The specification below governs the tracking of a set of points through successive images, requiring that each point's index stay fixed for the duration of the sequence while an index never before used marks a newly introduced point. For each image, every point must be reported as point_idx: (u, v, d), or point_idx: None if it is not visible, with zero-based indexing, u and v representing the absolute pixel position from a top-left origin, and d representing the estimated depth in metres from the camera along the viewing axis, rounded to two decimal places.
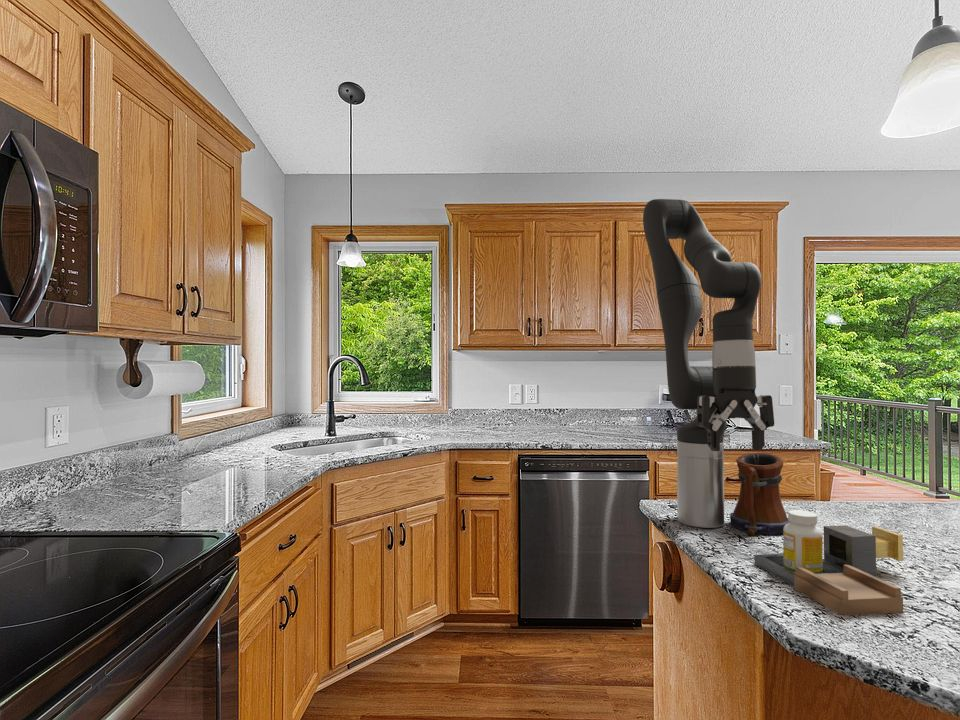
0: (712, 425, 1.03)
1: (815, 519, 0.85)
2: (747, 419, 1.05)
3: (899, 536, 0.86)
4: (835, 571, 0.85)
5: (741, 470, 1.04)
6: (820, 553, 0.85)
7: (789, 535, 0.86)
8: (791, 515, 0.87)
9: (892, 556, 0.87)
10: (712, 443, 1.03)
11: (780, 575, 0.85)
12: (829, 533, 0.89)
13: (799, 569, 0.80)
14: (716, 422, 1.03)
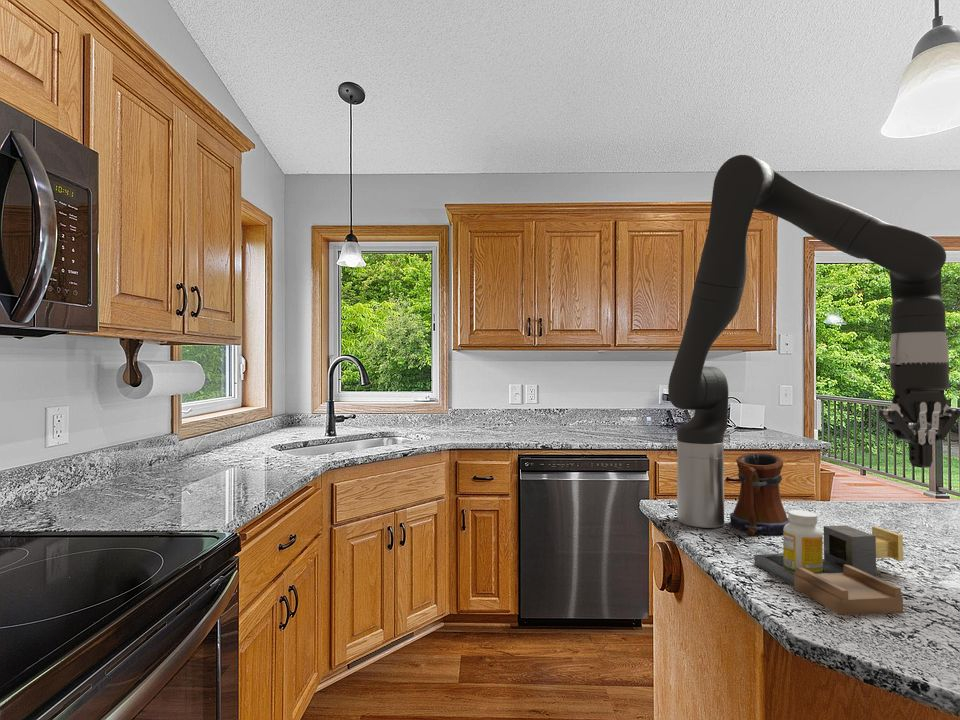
0: (918, 438, 0.89)
1: (815, 519, 0.85)
2: None
3: (899, 536, 0.86)
4: (835, 571, 0.85)
5: (741, 470, 1.04)
6: (820, 553, 0.85)
7: (789, 535, 0.86)
8: (791, 515, 0.87)
9: (892, 556, 0.87)
10: (917, 458, 0.89)
11: (780, 575, 0.85)
12: (829, 533, 0.89)
13: (799, 569, 0.80)
14: (919, 435, 0.88)
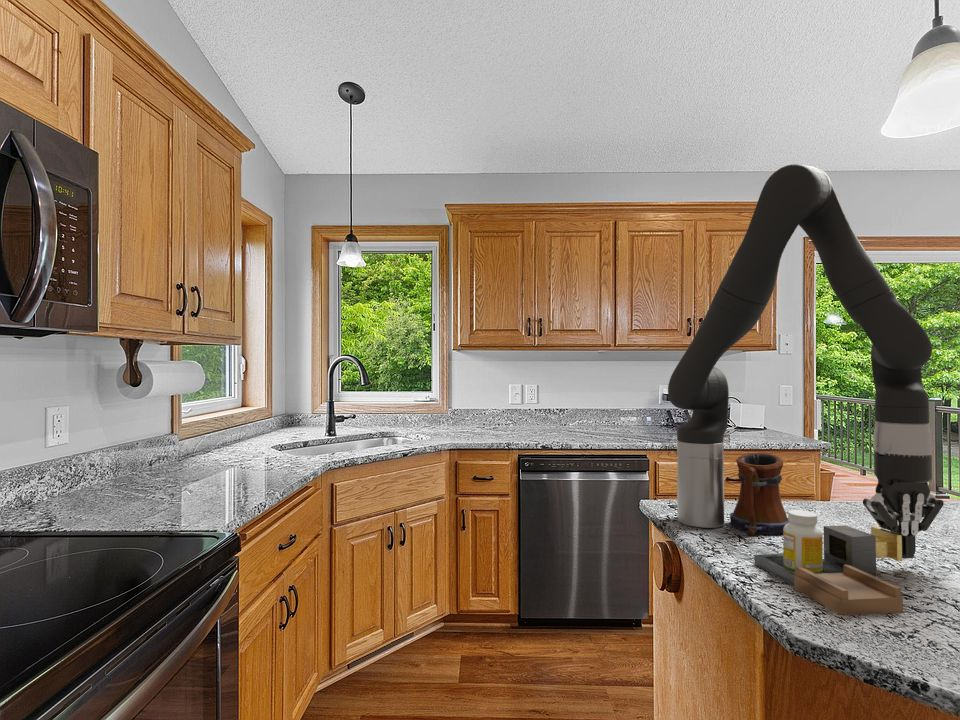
0: (901, 529, 0.88)
1: (815, 519, 0.85)
2: None
3: (898, 536, 0.86)
4: (835, 571, 0.85)
5: (741, 470, 1.04)
6: (820, 553, 0.85)
7: (789, 535, 0.86)
8: (791, 515, 0.87)
9: (891, 556, 0.87)
10: None
11: (780, 575, 0.85)
12: (829, 533, 0.89)
13: (799, 569, 0.80)
14: (902, 526, 0.88)
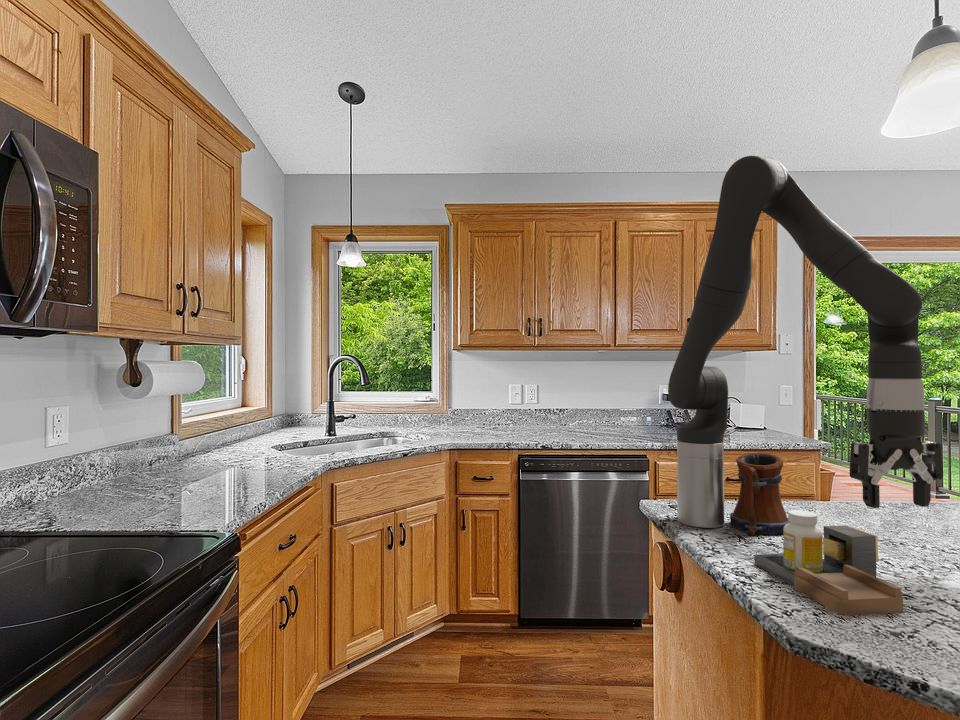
0: (871, 478, 0.88)
1: (815, 519, 0.85)
2: (908, 469, 0.90)
3: None
4: (835, 571, 0.85)
5: (741, 470, 1.04)
6: (820, 553, 0.85)
7: (789, 535, 0.86)
8: (791, 515, 0.87)
9: None
10: (870, 499, 0.88)
11: (780, 575, 0.85)
12: (829, 533, 0.89)
13: (799, 569, 0.80)
14: (876, 474, 0.88)
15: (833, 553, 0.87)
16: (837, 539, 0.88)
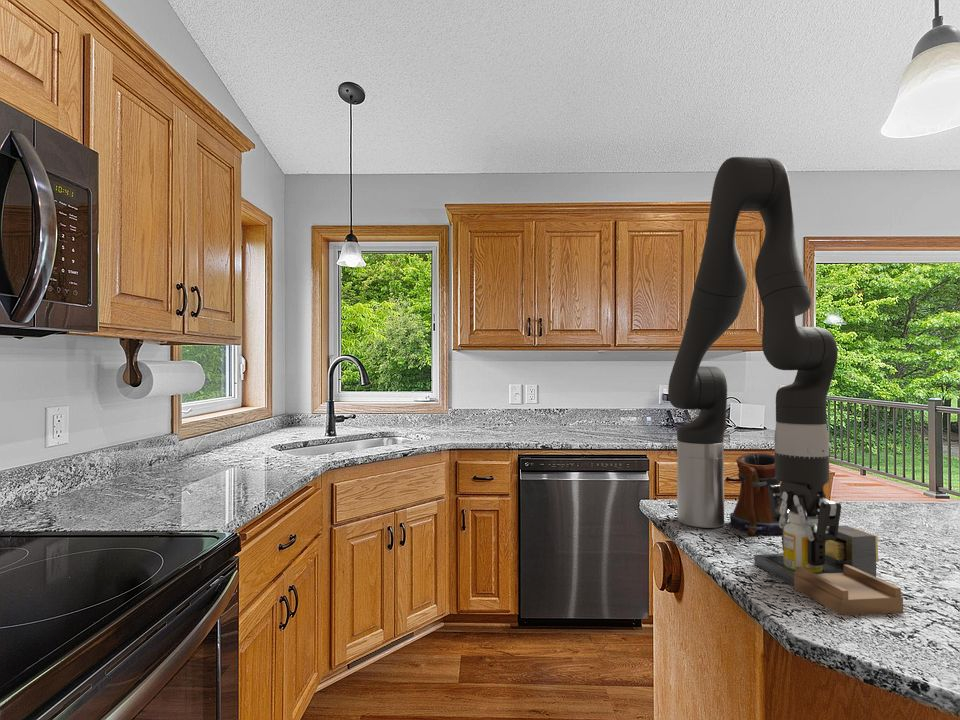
0: None
1: None
2: None
3: None
4: (835, 571, 0.85)
5: (741, 470, 1.04)
6: None
7: (789, 535, 0.86)
8: (791, 515, 0.87)
9: None
10: (782, 541, 0.91)
11: (780, 575, 0.85)
12: None
13: (799, 569, 0.80)
14: (781, 518, 0.90)
15: (833, 553, 0.87)
16: (837, 539, 0.88)
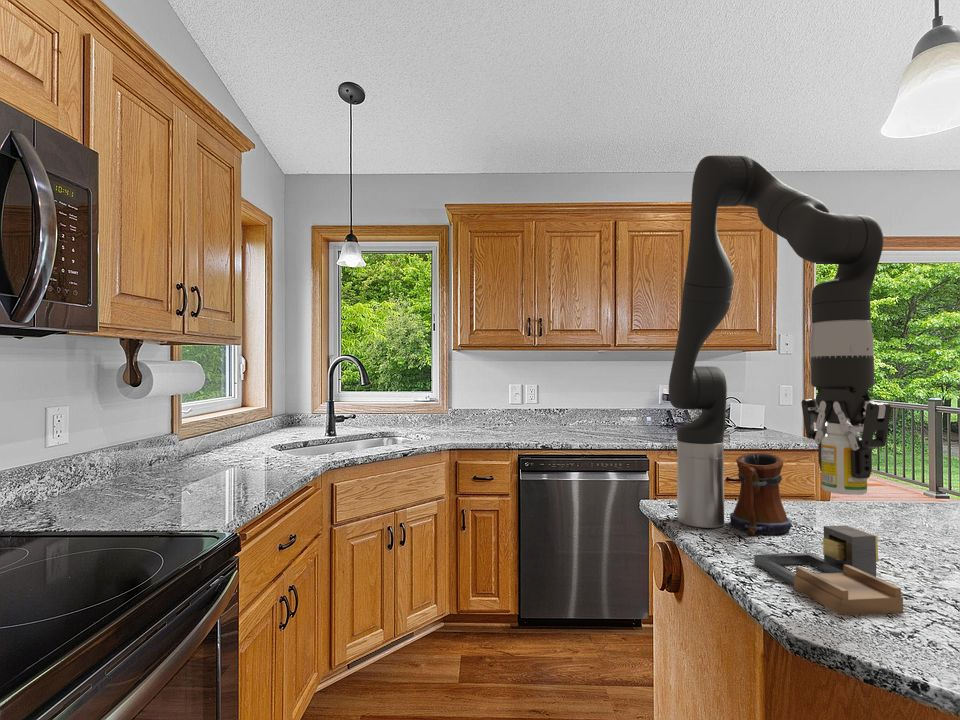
0: None
1: None
2: None
3: None
4: (835, 571, 0.85)
5: (741, 470, 1.04)
6: None
7: (828, 447, 0.77)
8: (831, 425, 0.77)
9: None
10: None
11: (780, 575, 0.85)
12: (829, 533, 0.89)
13: (799, 569, 0.80)
14: (817, 433, 0.81)
15: (833, 553, 0.87)
16: (837, 539, 0.88)
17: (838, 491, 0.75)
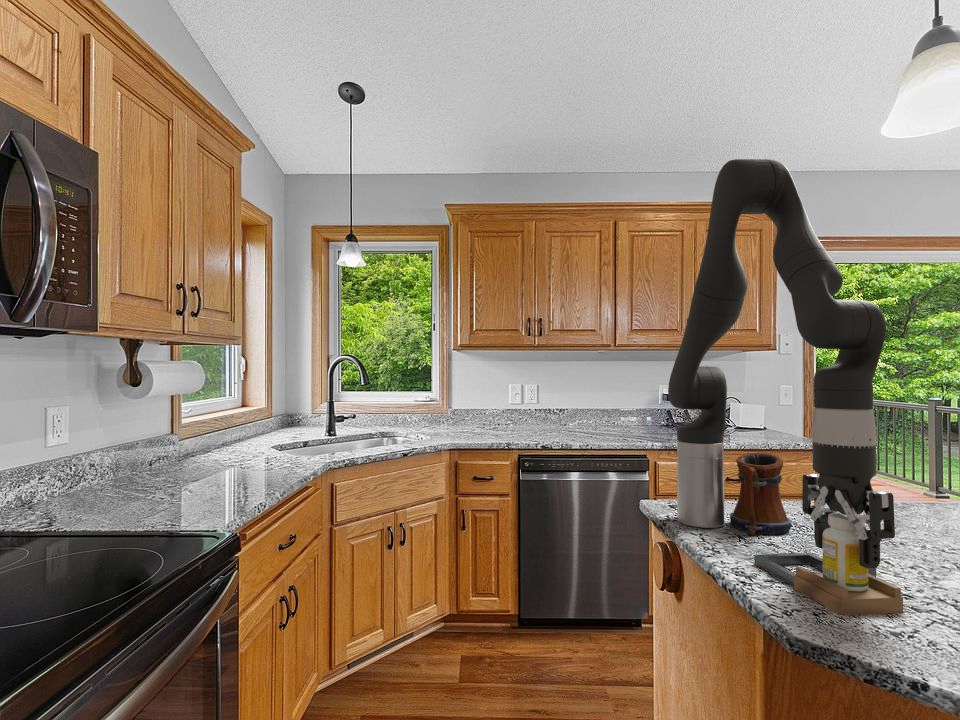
0: None
1: None
2: None
3: None
4: None
5: (741, 470, 1.04)
6: None
7: (830, 541, 0.76)
8: (832, 519, 0.77)
9: None
10: (815, 536, 0.82)
11: (780, 575, 0.85)
12: None
13: (799, 569, 0.80)
14: (814, 510, 0.81)
15: None
16: None
17: None
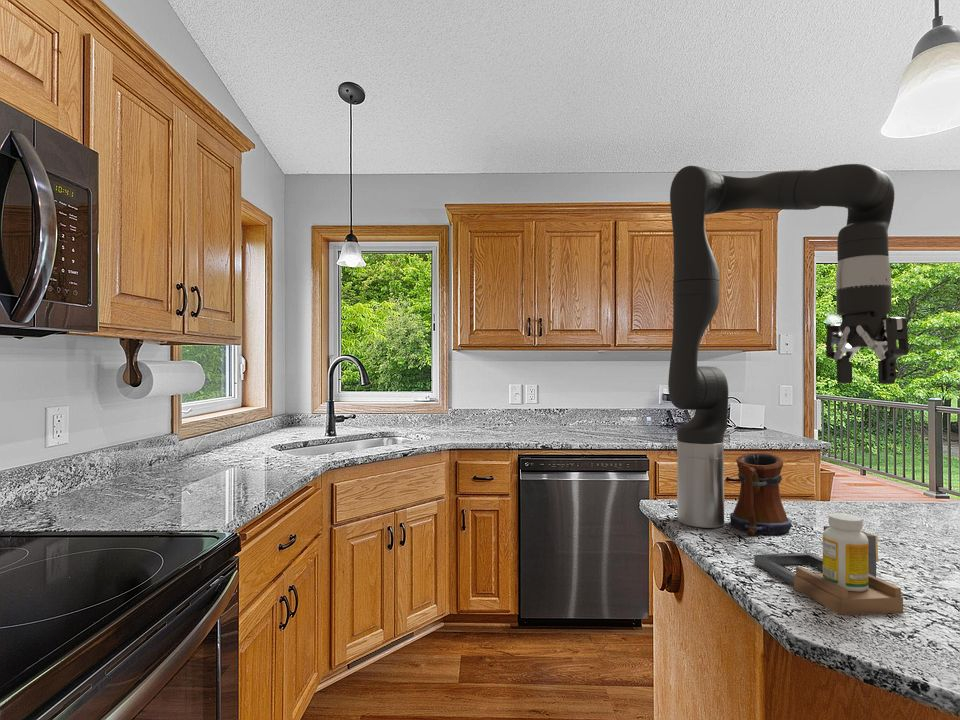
0: None
1: (860, 523, 0.75)
2: None
3: None
4: None
5: (741, 470, 1.04)
6: (866, 562, 0.75)
7: (830, 541, 0.76)
8: (832, 519, 0.77)
9: None
10: (837, 374, 0.96)
11: (780, 575, 0.85)
12: None
13: (799, 569, 0.80)
14: (837, 352, 0.95)
15: None
16: None
17: None
